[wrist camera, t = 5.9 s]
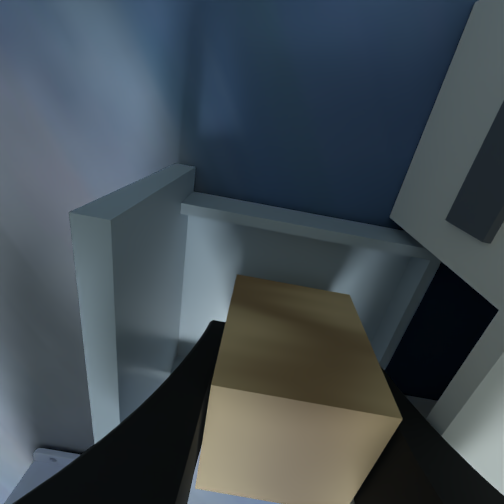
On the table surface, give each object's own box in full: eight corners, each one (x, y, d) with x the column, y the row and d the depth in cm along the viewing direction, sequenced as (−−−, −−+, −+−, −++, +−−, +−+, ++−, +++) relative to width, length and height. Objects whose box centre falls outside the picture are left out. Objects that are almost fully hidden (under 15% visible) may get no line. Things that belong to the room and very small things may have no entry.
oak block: (222, 357, 13) (195, 488, 8) (236, 274, 11) (211, 384, 6) (318, 374, 13) (343, 514, 8) (349, 294, 11) (402, 419, 6)
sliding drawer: (165, 362, 16) (101, 506, 10) (175, 163, 11) (68, 212, 5) (347, 395, 16) (391, 556, 10) (433, 211, 12) (605, 311, 6)
